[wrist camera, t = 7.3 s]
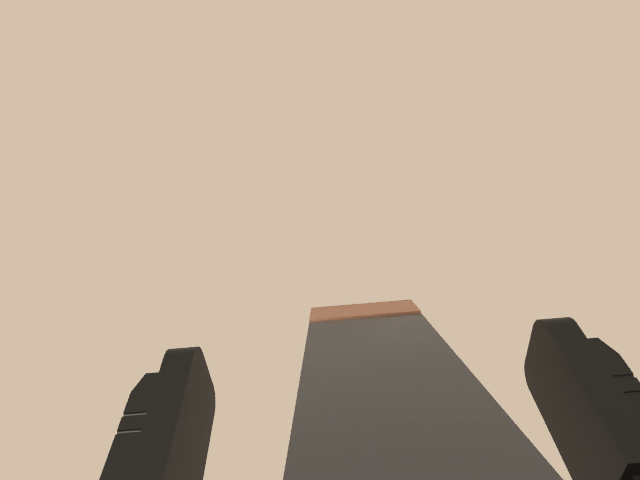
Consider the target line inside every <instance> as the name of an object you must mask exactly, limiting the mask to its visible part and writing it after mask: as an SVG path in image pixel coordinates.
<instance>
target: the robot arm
mask: <svg viewBox="0 0 640 480" xmlns="http://www.w3.org/2000/svg"><path fill="white" fill-rule="evenodd" d="M524 368H525V377H526V382H527V385H528V387H529V390H530V392H531V394H532V396H533V398H534V400H535V403H536V405H537V407H538V409H539V411H540V413H541V415H542V417H543V419H544V421H545V423H546V425H547V428H548V430H549V432H550V434H551V436H552V438H553V440H554V442H555V444H556V446H557V448H558V450H559V452H560V455H561V456H562V459H563V461H564V463H565V465H566V467H567V469H568V471H569V473H570V475H571V477H572V480H640V382H639V381H638V379H637V378H634V376H633V372H632V371H631V370H630V368H629V367H628V366H627V364H626V363H625V361H624V360H623V359H622V357H621V356H620V354H618V353H617V352H616V351H615V350H613V349H612V348H610V347H609V346H608V345H607V344H605V343H604V342H603V341H601V340H600V339H599V338H589V339H587V338H586V336H585V335H584V333H583V332H582V330H581V329H580V327H579V326H578V325H577V323H576V322H575V321H574V319H572V318H570V317H565V318H553V319H542V320H536V321H535V323H534V325H533V329H532V333H531V338H530V343H529V346H528V350H527V355H526V359H525V366H524ZM214 413H215V391H214V386H213V383H212V380H211V377H210V374H209V371H208V368H207V365H206V361H205V358H204V355H203V352H202V350H201V348H200V347H189V348H178V349H168V350H167V351H166V353H165V355H164V358H163V361H162V364H161V368H160V371H159V373H146V374H145V375H144V377H143V378H142V379H141V380H140V382H139V383H138V384H137V385H136V387H135V388H134V389H133V390H132V391H131V393H130V396H129V399H128V402H127V404H126V407H125V410H124V416H123V417H122V418H121V421H120V424H119V427H118V429H117V435H115V438H114V440H113V443H112V446H111V449H110V451H109V454H108V457H107V460H106V463H105V466H104V468H103V471H102V474H101V476H100V479H99V480H203V476H204V470H205V464H206V458H207V453H208V447H209V441H210V436H211V430H212V424H213V419H214Z"/></svg>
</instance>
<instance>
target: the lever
mask: <svg viewBox="0 0 640 480" xmlns="http://www.w3.org/2000/svg"><path fill="white" fill-rule="evenodd" d="M309 321H310V322H309V328H308V335H307V340H306V346H305V352H304V358H303V364H302V370H301V376H300V382H299V389H298V394H297V400H296V406H295V412H294V418H293V424H292V430H291V436H290V441H289V447H288V454H287V459H286V465H285V471H284V477H283V480H563V479H562V478H561V477H560V475H559V474H558V473H557V472H556V471H555V470H554V468H553V467H552V466H551V465H550V464H549V463H548V461H547V460H546V459H545V458H544V457H543V456H542V454H541V453H540V452H539V451H538V450H537V448H536V447H535V446H534V445H533V444H532V443H531V442H530V440H529V439H528V438H527V437H526V436H525V435H524V433H523V432H522V431H521V430H520V429H519V427H518V426H517V425H516V424H515V423H514V422H513V420H512V419H511V418H510V417H509V416H508V414H506V412H505V411H504V410H503V409H502V408H501V406H500V405H499V404H498V403H497V402H496V400H495V399H494V398H493V397H492V396H491V395H490V393H489V392H488V391H487V390H486V389H485V388H484V386H483V385H482V384H481V383H480V382H479V380H478V379H477V378H476V377H475V376H474V375H473V374H472V372H471V371H470V370H469V369H468V368H467V367H466V365H465V364H464V363H463V362H462V361H461V359H460V358H459V357H458V356H457V355H456V354H455V352H454V351H453V350H452V349H451V348H450V346H449V345H448V344H447V343H446V342H445V341H444V339H443V338H442V337H441V336H440V335H439V334H438V333H437V331H436V330H435V329H434V328H433V327H432V325H431V324H430V323H429V322H428V321H427V320H426V318H425V317H424V316H423V315H422V314H421V312H420V310H419V308H418V307H417V306H416V305H415V304H414V303H413V302H412V300H401V301H389V302H376V303H366V304H352V305H340V306H329V307H316V308H311V313H310V319H309Z"/></svg>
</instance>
